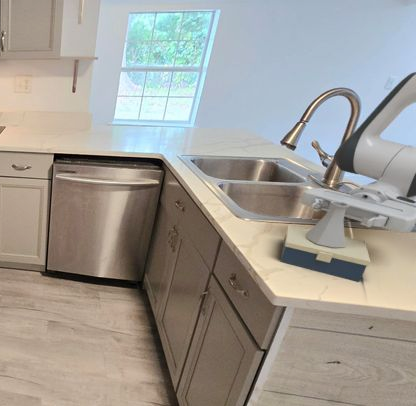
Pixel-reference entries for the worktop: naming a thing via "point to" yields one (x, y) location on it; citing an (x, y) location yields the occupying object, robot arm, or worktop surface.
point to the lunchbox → (325, 255)
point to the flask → (330, 227)
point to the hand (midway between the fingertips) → (338, 215)
